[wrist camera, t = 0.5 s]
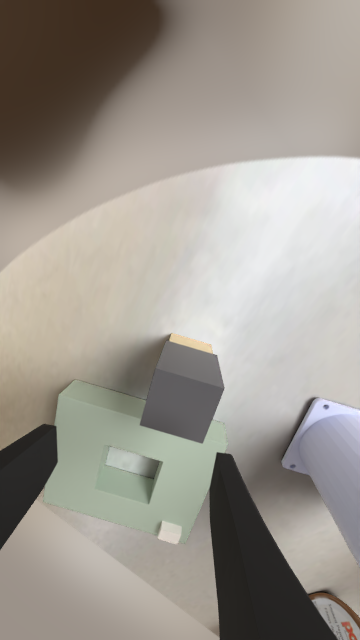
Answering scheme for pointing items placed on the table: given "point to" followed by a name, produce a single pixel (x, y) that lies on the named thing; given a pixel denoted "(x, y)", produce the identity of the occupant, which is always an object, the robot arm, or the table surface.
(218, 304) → the table surface
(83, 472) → the socket panel
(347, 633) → the tin
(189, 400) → the plug
